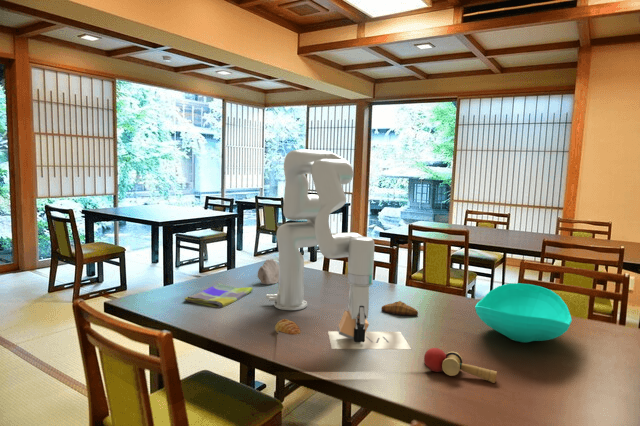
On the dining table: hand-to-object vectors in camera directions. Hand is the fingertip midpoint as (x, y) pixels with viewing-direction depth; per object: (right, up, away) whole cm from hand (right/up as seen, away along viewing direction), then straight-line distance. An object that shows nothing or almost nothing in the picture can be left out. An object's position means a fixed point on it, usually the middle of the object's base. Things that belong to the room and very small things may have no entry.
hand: (357, 337), depth 129 cm
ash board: (+3, -2, 0) cm, 4 cm away
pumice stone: (-33, +6, +68) cm, 76 cm away
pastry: (-21, -1, +8) cm, 23 cm away
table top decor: (+53, -3, +10) cm, 54 cm away
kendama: (+25, -5, -17) cm, 31 cm away
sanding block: (-3, +1, 0) cm, 3 cm away
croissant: (+18, 0, +30) cm, 35 cm away
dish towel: (-51, +3, +43) cm, 67 cm away
